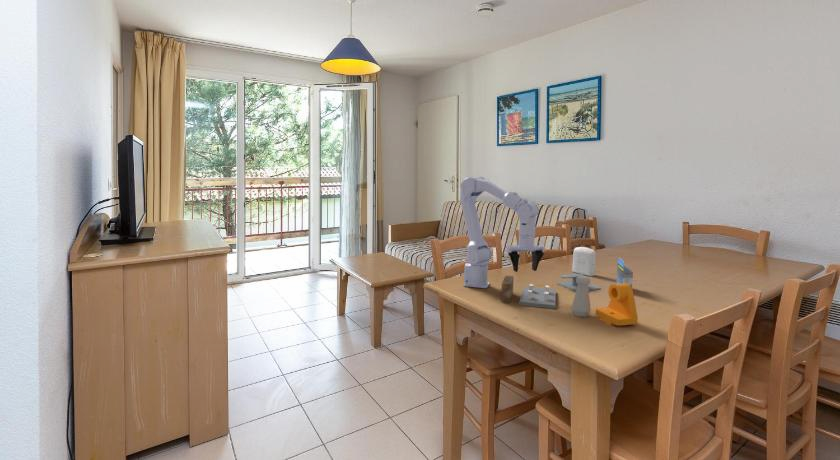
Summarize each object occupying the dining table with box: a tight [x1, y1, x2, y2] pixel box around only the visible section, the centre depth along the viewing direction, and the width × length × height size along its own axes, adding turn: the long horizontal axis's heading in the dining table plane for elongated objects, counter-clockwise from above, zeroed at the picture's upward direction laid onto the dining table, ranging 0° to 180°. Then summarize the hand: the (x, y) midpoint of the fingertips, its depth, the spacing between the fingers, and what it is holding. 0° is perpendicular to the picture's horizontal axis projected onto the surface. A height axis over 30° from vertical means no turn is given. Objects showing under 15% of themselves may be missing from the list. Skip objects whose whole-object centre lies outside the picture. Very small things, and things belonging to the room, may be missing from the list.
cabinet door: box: [500, 275, 514, 304], centre depth 155 cm, size 4×12×7 cm, turn 162°
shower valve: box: [556, 273, 601, 292], centre depth 171 cm, size 12×6×15 cm
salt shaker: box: [571, 275, 591, 318], centre depth 137 cm, size 6×6×13 cm
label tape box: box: [616, 257, 634, 288], centre depth 167 cm, size 9×4×12 cm, turn 168°
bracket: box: [595, 283, 639, 326], centre depth 132 cm, size 11×7×12 cm, turn 15°
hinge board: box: [519, 283, 557, 309], centre depth 155 cm, size 12×20×4 cm, turn 162°
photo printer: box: [571, 246, 597, 277], centre depth 192 cm, size 10×4×12 cm, turn 36°
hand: (524, 270), depth 157 cm, fingers open, 7 cm apart
